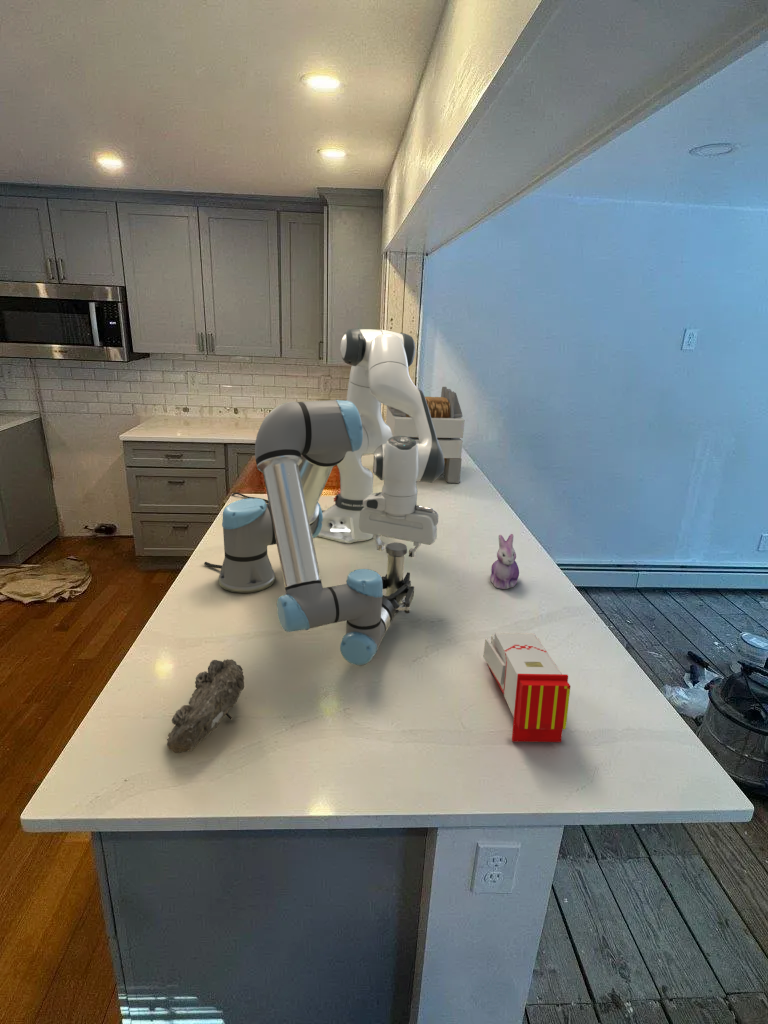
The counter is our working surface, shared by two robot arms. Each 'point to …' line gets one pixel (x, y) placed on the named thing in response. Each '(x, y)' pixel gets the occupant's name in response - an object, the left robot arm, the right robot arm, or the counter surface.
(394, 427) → the transformer
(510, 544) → the figurine
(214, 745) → the counter surface
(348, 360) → the right robot arm
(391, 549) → the lid
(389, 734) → the counter surface
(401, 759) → the counter surface
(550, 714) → the toy
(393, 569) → the jar
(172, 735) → the fossil
